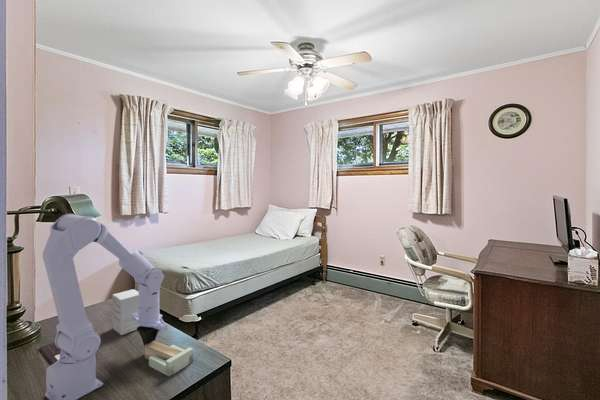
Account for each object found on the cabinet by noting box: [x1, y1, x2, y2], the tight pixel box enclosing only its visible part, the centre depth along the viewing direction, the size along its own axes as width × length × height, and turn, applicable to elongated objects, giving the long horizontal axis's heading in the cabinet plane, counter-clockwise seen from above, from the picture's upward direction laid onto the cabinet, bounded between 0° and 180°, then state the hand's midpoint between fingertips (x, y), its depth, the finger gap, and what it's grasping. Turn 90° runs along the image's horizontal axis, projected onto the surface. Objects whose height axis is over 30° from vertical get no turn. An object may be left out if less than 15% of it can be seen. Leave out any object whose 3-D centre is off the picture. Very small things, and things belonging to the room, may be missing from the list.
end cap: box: [148, 344, 194, 377], centre depth 86 cm, size 8×9×4 cm
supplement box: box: [112, 289, 140, 336], centre depth 105 cm, size 7×7×13 cm
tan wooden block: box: [144, 340, 182, 361], centre depth 87 cm, size 3×12×4 cm, turn 64°
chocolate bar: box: [39, 342, 97, 365], centre depth 90 cm, size 9×1×18 cm
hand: (149, 348), depth 91 cm, fingers closed
